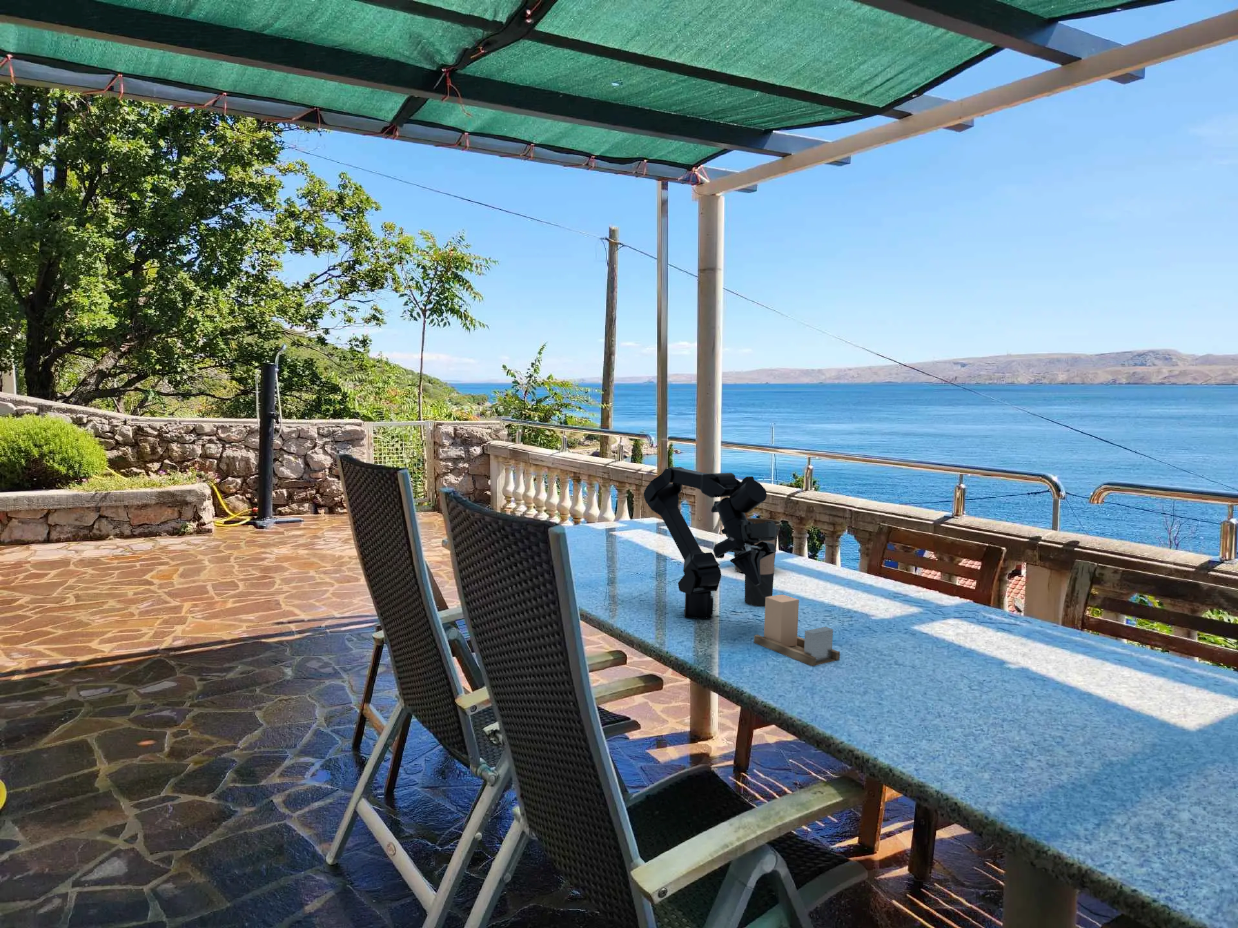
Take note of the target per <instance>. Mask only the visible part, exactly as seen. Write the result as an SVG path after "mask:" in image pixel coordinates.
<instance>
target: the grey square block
mask: <svg viewBox="0 0 1238 928" xmlns="http://www.w3.org/2000/svg"><path fill="white" fill-rule="evenodd" d="M833 637H834V629H833V628H831V627H828V626H823V627H817V628H812V629H808V630H804V639H805V643H804V653H806V654H808V655H811V656H813V657H816V662H819V661H824V660H828V659H832V649H833V642H834V641H833V640H834V639H833Z"/></svg>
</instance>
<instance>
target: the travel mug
mask: <svg viewBox="0 0 1238 928" xmlns="http://www.w3.org/2000/svg"><path fill="white" fill-rule="evenodd" d="M760 539H761V541H760V542H762V541H765V542H770V543H772V544H774V546H775V538H760ZM760 542H758V543H760ZM758 543H755V545H756V544H758ZM774 555H775V556H776V554H775V553H773V554H771V555H769V556H767V557H765V558H763V559H761V560H760V576H761V584H759V585H755V584H754V583H753V582H752V581H751V580H750V579H749V578H748V577H747V576H746V575H745V574H744V603H745V605H748V606H753V607H757V608H758V607H761V608H762V607H764V608H765V598H766V597H769V596H773V590H774V589H773V588H774V577H775V575H774V574H775V562H774Z"/></svg>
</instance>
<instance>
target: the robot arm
mask: <svg viewBox="0 0 1238 928" xmlns="http://www.w3.org/2000/svg"><path fill="white" fill-rule="evenodd" d="M683 486H684V487H690V488H693V489H694V488H695V489H697V490H700V491H701V494H704V495H705V496H707V497H709V498H714V499H715V498H722V499H721V500H716V501H715V500H714V501H713V506H712V507H711V510H710V511H711V512H710V513H714V514H715V513H718V515H719V518H720V521H721V524H722V526H723V528H722V529H721V534H722V535H726V538H725V539H724V540H722V541H720V542H718V543H716V544H714V547H713V549H712V552H711V551H709V552H704V551H702V549H701V547H700V545H699V543H698V542H697V539H696V537H695V536H694V534H693V533H692V530H691V529H690V527H689V525H688V523H687V521H686V519H685V518H684V516H683V514H682V513H681V511H680V508H679V504H680V502H679V501H680V496H679V495H680V493H681V492H682V490H683ZM767 494H768V493H767V490H766V488H765V487H764V486H763V485H762V484H761V483H760V482H759V481H757V480H755V478H754V476H753V475H751V476H745V477H744V478H742V480H741V481H740V480H739V479H737V477H736V475H735V474H734V473H732V472H719V473H718V472H714V473H705V472H702V471H698V470H697V471H696V470H693V469H686V468H684V467H681V466H670V467H667V468H665V469H664V470H663V471H662V473H661V474H659V475H658V476H656V477H654V478H653V479H652V480H650V482H649V483H648V485H647V486H646V488H645V489H644V491H643V498H644V500H645V503H646V504H647V507H649V508H650V510H651V511H653V512H654V513H656V514H657V515H659V516H660V517H661V519H662V520H663V523H664V524H665V526H666V528H667V530H668V532H669V533H670V536H671V538H672V539H673V541H674V544H675V546H676V547H677V548H678V551H679V553H680V556H681V557H682V559H683V567H682V568H683V569H682V570H683V571H682V572H683V576H682V577H681V579H680V580H678V582H677V586H678V589H679V592H681V593H683V594H685V595H684V609H683V615H684V618H685V619H706V620H709V619H711V620H712V615H713V614H714V612H713V611H714V596H713V595H712V592H717V591H718V588H719V585H720V581H721V580H722V579H721V578H722V571H721V568H720V563H719V562H718V561H717V560H716V559H724V557H725V554H727V553H734V554H733V558H731V559H729V562H730V563H731V564H733V565H734V567H735V566H737V567H738V568H739V569H740V570H741V571H742V572H743V573H742V574H744V576H745V575H746V576H747V577H748V578H749V579H750V580H751V581H752V582H753V583H754V584H755V585H759V584H761V576H760V560H761V559H763V558H765V557H767V556H769V555H771V554H773V553H775V552H777V547H776V548H775V546H774V544H772V543H770V542H765V541H762V542H760V541H761V539H760V538H776V534H777V532H778V531H779V532H780V529H778V528H777V525H775V523H774V522H773V521H769V522H764V523H758V524H753V522H751V521H747V518H748V517H747V515H746V514H748V513H750V512H751V511H753V510H754V509H755V508H756V507H758V506H759V505H761V504H762V503H764V502H765V501H766V499H767V497H768V496H767ZM758 542H760V543H758ZM755 543H758V544H756V545H755Z"/></svg>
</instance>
